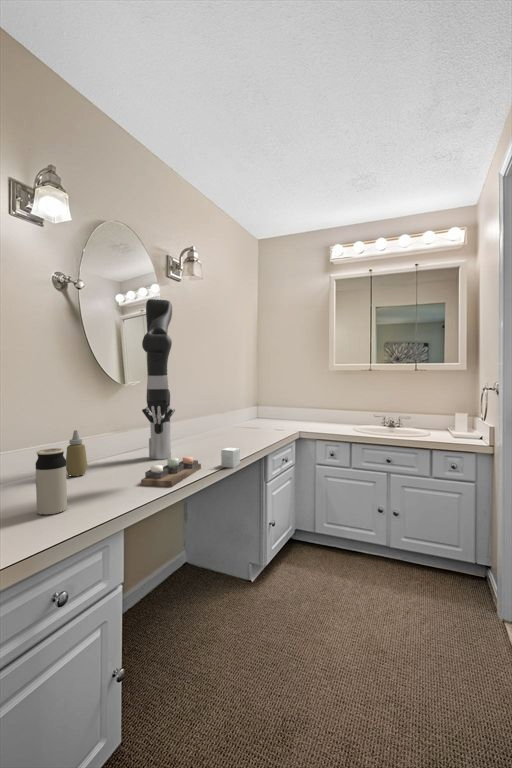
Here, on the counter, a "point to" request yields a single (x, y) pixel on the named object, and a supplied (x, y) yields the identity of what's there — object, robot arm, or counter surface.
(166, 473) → the button panel
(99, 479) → the counter surface
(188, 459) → the terracotta button
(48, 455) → the travel mug
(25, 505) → the counter surface
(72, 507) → the counter surface
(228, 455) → the product box
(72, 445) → the squeeze bottle
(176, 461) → the sage button
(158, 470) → the cream button
